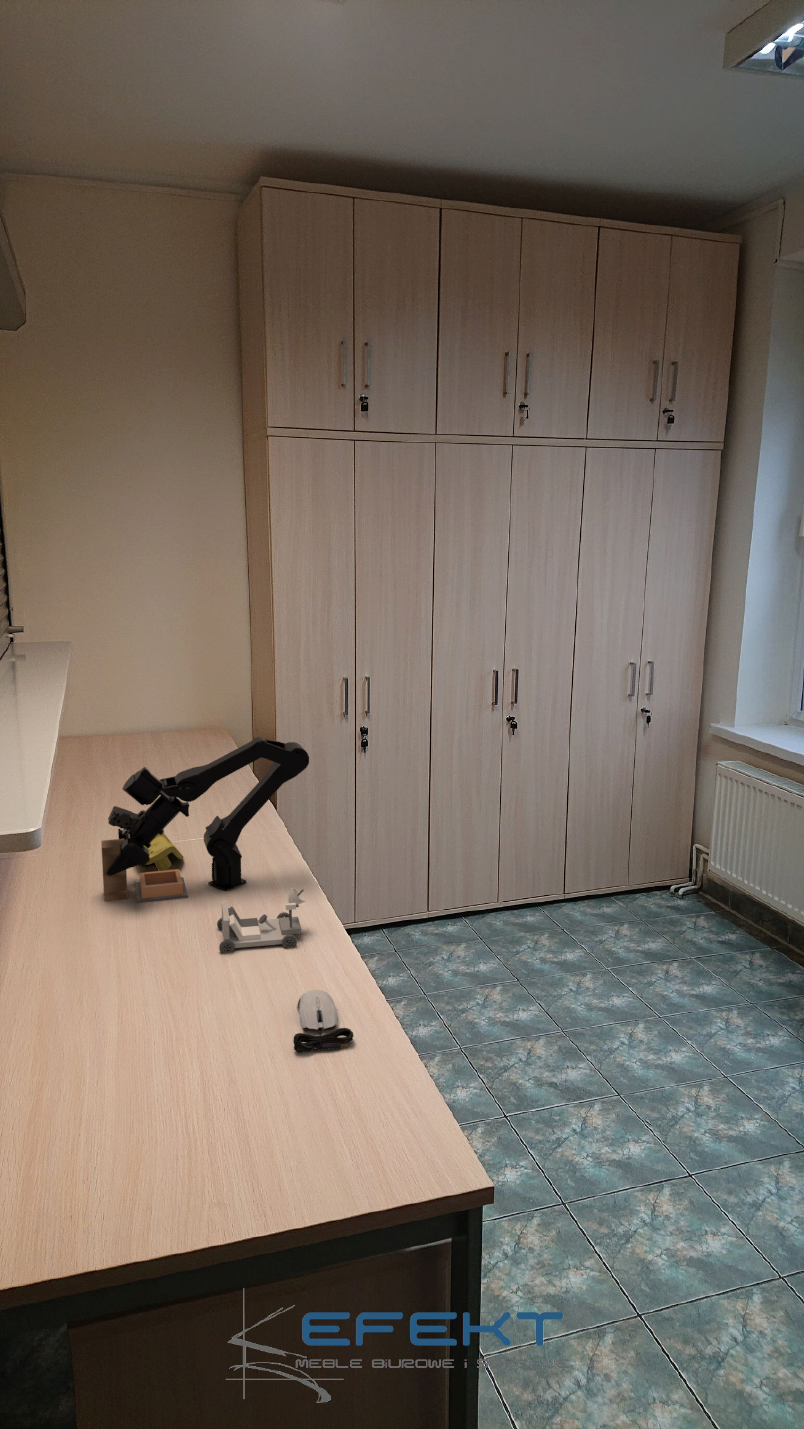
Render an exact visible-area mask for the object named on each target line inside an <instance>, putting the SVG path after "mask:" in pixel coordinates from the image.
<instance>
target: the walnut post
mask: <svg viewBox="0 0 804 1429" xmlns="http://www.w3.org/2000/svg"><path fill="white" fill-rule="evenodd" d="M124 841H125V839H119V838H116V839H106V840H101V841H100V842H101V859H102V860H101V864H102V879H103V883H102V885H103V901H104V902H109V901H119V900H120V901H121V900H127V899H128V898H129V897H128V877H127V876H128V875H127V869H126V870H124V871H121V872H119V873H116V874H114V875H112V876H109V875H108V874H107V871H108V870H109V868H110V867H111V865H112V864H113V862H114V861H115V860H116V858H117V857H118V855H119V854H120V844H121V845H122V844H123V842H124Z"/></svg>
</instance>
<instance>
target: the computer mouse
mask: <svg viewBox="0 0 804 1429" xmlns="http://www.w3.org/2000/svg"><path fill="white" fill-rule="evenodd" d="M296 1010H297V1013H298V1016H299V1018H300V1023H301V1028H302V1031H304V1030H313V1031H314V1030H315V1031H316V1032H318V1035H313V1034H308V1033H304V1032H297V1033H295V1034H294V1036H293V1040H292V1041H293V1050H294V1051H295V1052H296V1053H308V1052H310V1051H313V1050H315V1049H316V1050H317V1051H318V1050H320V1051H321V1050H324V1051H325V1050H326V1051H327V1050H340V1049H341V1048H349V1045H348V1043H349V1042H352V1041H354V1038H353V1037H354V1032H353V1031H352V1029H350V1028H347V1027H341V1028H340V1027H339V1028H337V1027H338V1012H337V1011H338V1009H337V1007H336V1005H335V1002H334V1000H333V998H332V996H331V995H330V994H329V993H328V992H327V991H325V990H323V989H311V990H307V991H305V992H303V993H302V994H301V995H300V997H299V999H298V1001H297V1005H296ZM333 1027H335V1028H337V1029H335V1030H332V1031H330V1032H327V1033H325V1034H323V1031H325V1029H329V1028H333Z"/></svg>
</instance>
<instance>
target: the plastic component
mask: <svg viewBox="0 0 804 1429" xmlns="http://www.w3.org/2000/svg"><path fill="white" fill-rule="evenodd" d="M143 846H144V845H143ZM144 847H145V846H144ZM147 849H148V850H149V858H150V861H149V862H148V863H147V864H146V865H151V864H155V867H156V868H157V869H158V871H165V870H169V869H170V867H172V863H171V860H170V859H169V857H168V855H169V854H173V856H175V857H177V859H179V860H182V859H184V858H185V856H184V855H183V854H182V853H181V852H180V851H179V849H177V847H176V846H175V845H174V843H173V842H172V841H171V840H170V839H169V837H167V835H166V834H165V832H164V833H163V834H162V835H160V834H158V835H157V836H156V837H155V839H154V840H153V841H152V842H151V846H150V847H149V848H147ZM146 865H145V866H146Z"/></svg>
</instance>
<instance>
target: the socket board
mask: <svg viewBox="0 0 804 1429" xmlns="http://www.w3.org/2000/svg"><path fill="white" fill-rule="evenodd" d="M138 877H139V881H135V882H134V885H135V887H134V888H135V892H136V893H135V895H136V900H137V904H139V903H140V904H141V903H149V902H150V903H152V902H159V901H167V900H178V899H180V900H181V899H187V898H189V894H188V889H187V886H186V883H185V877H183V876H182V875H181V872H180V869H179V868H178V869H166V870H165V871H159V870H158V871H157V870H155V871H146V872H139V876H138Z"/></svg>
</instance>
